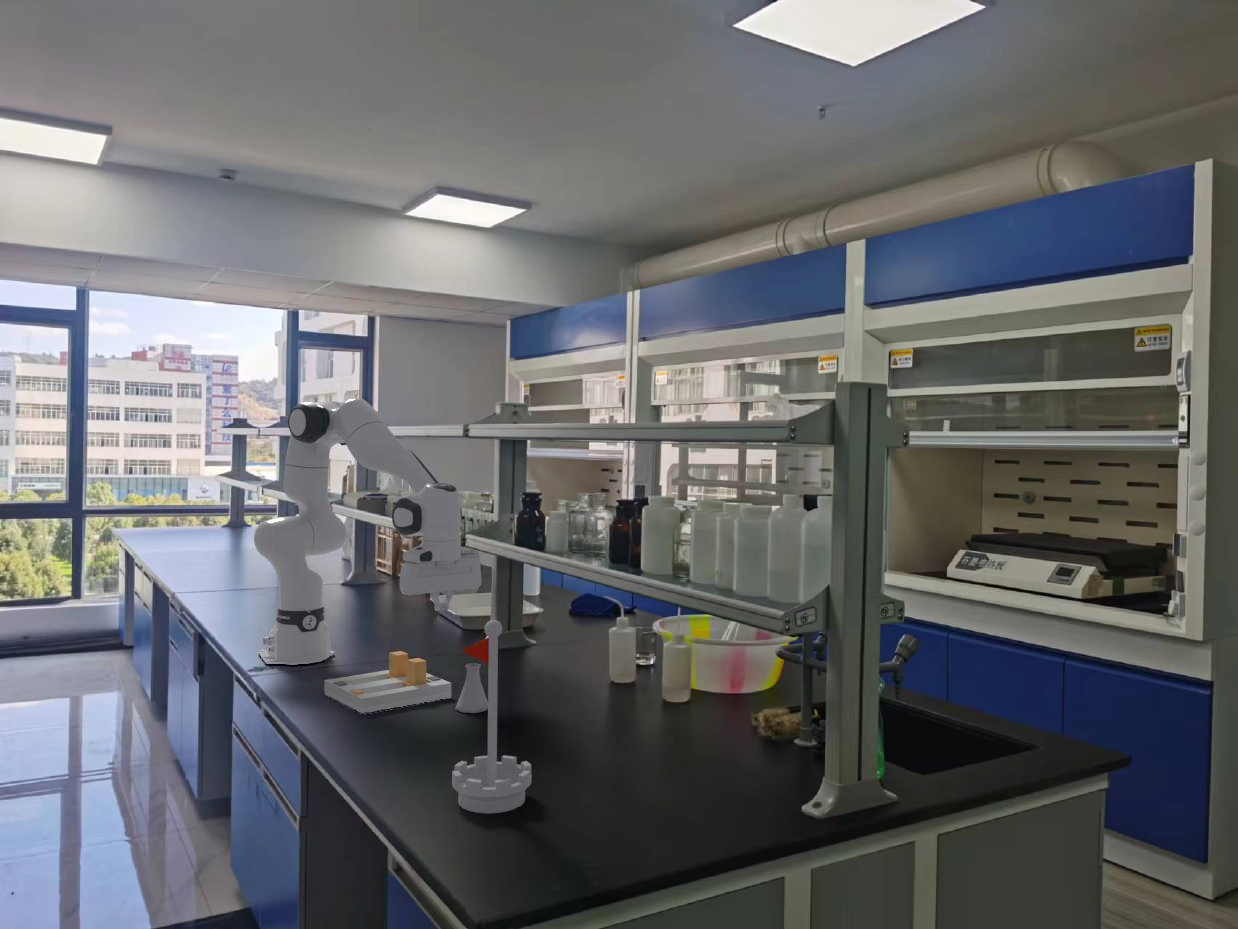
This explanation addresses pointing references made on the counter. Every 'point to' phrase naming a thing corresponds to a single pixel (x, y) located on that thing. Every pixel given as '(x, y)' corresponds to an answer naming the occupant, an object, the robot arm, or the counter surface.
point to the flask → (472, 692)
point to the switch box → (384, 691)
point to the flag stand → (491, 750)
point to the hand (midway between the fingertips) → (441, 610)
